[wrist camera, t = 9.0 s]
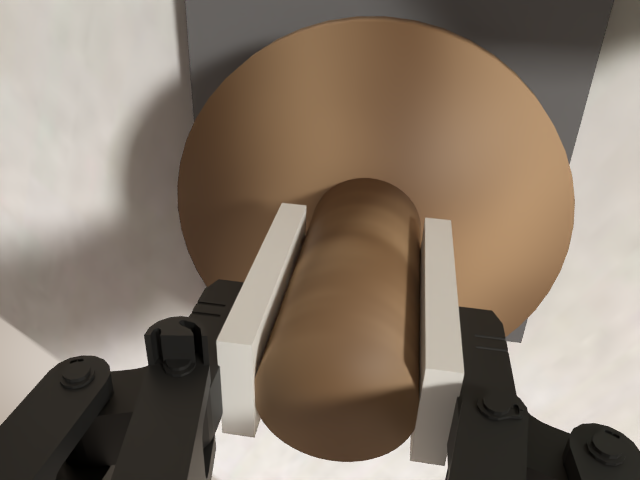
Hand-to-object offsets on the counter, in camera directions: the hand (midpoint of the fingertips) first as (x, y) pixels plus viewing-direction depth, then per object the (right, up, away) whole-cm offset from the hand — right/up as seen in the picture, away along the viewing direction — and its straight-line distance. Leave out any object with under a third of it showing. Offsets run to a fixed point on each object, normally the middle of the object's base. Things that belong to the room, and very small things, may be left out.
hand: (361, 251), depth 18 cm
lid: (0, +1, +2) cm, 3 cm away
